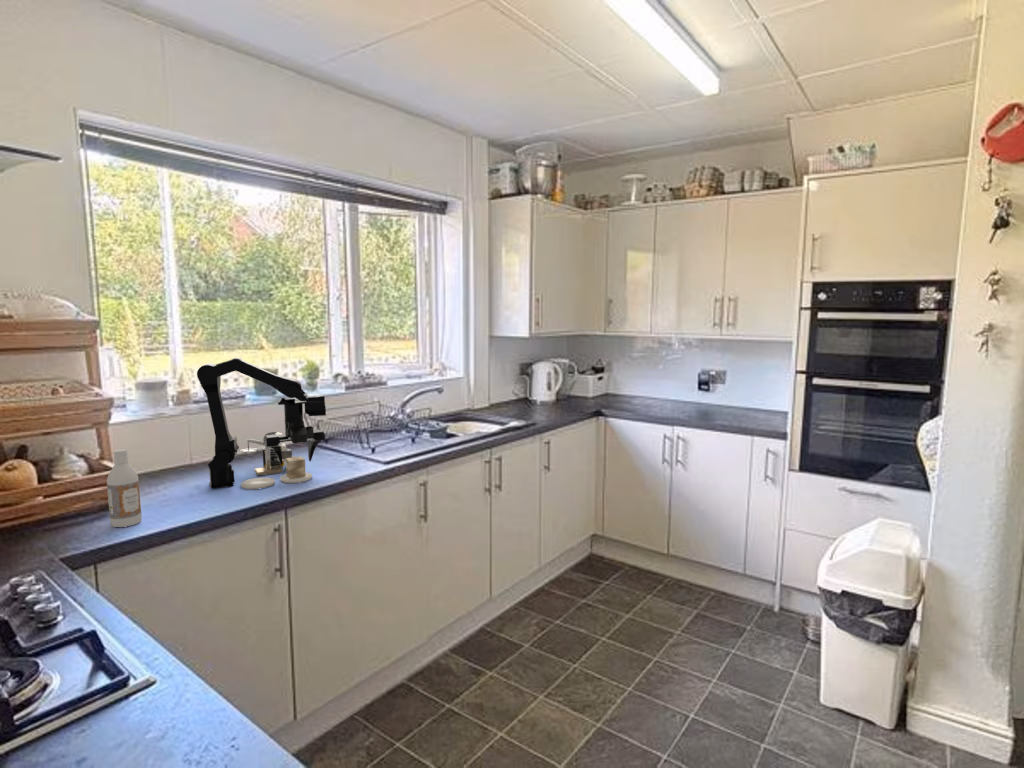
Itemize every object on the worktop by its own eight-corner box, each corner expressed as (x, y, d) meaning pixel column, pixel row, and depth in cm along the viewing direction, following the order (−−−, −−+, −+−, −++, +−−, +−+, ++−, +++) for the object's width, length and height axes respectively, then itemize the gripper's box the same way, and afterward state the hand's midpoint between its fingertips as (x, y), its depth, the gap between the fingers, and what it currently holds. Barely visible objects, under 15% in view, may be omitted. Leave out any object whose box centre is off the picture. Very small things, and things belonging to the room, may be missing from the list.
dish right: (284, 485, 190) (284, 482, 189) (277, 477, 198) (277, 474, 198) (315, 480, 195) (315, 477, 195) (307, 473, 203) (307, 470, 203)
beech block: (290, 479, 193) (289, 461, 192) (286, 475, 197) (285, 458, 196) (305, 476, 196) (304, 459, 195) (301, 473, 200) (301, 456, 199)
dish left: (244, 491, 183) (244, 488, 183) (238, 483, 191) (238, 480, 191) (277, 486, 188) (277, 483, 188) (271, 478, 197) (271, 475, 197)
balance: (241, 478, 197) (239, 441, 196) (238, 474, 202) (236, 438, 201) (297, 470, 207) (296, 435, 206) (293, 466, 212) (291, 432, 211)
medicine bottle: (263, 468, 210) (261, 435, 208) (266, 463, 217) (264, 431, 215) (284, 466, 212) (282, 434, 210) (286, 461, 219) (285, 430, 217)
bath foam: (119, 530, 150) (113, 454, 148) (105, 525, 154) (98, 451, 151) (147, 521, 156) (141, 449, 154) (132, 517, 160) (126, 446, 157)
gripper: (269, 424, 182) (271, 472, 184) (329, 418, 192) (330, 464, 194) (262, 418, 191) (264, 464, 193) (319, 413, 201) (321, 457, 203)
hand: (295, 462), depth 196 cm, fingers open, 9 cm apart
